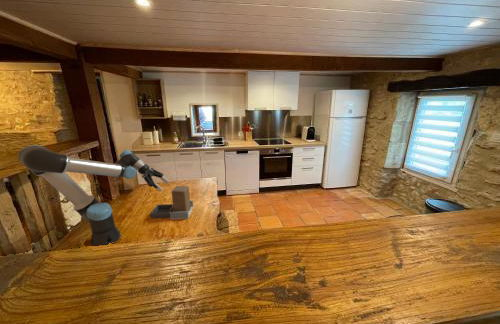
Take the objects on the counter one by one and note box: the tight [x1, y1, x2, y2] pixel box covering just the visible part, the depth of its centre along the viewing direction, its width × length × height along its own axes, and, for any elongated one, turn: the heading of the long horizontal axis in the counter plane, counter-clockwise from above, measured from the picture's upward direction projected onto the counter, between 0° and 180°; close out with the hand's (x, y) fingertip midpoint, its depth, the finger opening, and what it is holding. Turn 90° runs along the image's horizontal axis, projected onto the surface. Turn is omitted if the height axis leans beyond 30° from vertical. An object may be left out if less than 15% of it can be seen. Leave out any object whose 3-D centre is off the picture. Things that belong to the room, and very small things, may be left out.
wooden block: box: [171, 185, 191, 212], centre depth 153 cm, size 10×10×20 cm
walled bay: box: [170, 200, 194, 220], centre depth 156 cm, size 13×18×6 cm
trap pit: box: [150, 203, 174, 219], centre depth 155 cm, size 14×14×4 cm
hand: (164, 186), depth 149 cm, fingers open, 13 cm apart
